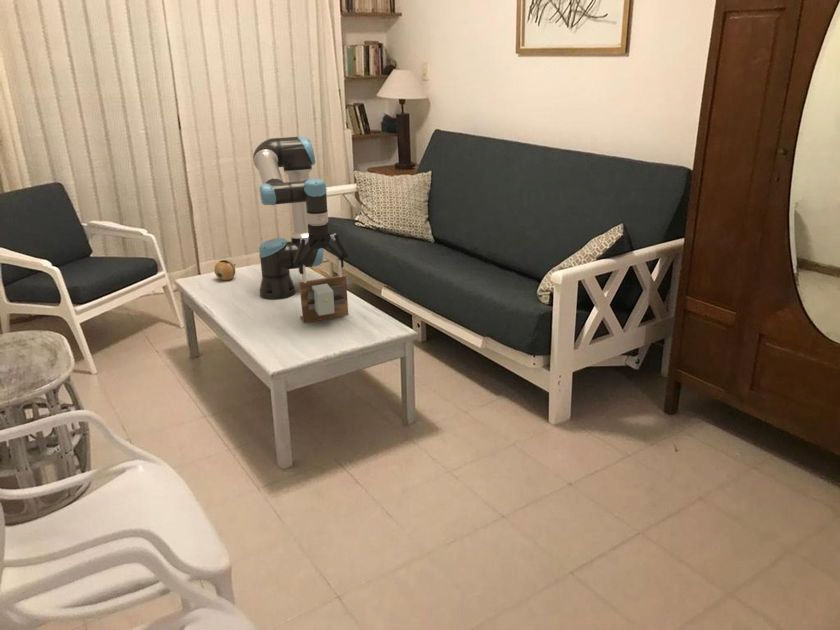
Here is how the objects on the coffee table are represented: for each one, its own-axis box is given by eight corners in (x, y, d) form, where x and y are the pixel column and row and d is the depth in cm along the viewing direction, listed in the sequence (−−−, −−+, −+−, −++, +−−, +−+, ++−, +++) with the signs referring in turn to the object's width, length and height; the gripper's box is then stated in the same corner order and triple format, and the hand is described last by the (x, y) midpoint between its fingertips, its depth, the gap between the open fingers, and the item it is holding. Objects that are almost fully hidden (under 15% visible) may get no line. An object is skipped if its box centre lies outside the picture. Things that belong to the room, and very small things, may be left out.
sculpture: (206, 267, 306) (224, 250, 318) (209, 283, 312) (227, 266, 323) (224, 271, 304) (242, 254, 315) (227, 288, 310) (244, 271, 321)
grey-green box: (313, 307, 263) (311, 286, 259) (328, 305, 265) (326, 283, 262) (319, 316, 256) (318, 294, 252) (335, 313, 258) (334, 291, 254)
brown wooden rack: (300, 318, 268) (296, 279, 262) (344, 310, 275) (341, 272, 269) (306, 325, 261) (302, 285, 255) (351, 317, 268) (348, 278, 262)
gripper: (286, 230, 239) (292, 287, 247) (354, 221, 248) (357, 276, 256) (281, 225, 245) (286, 281, 253) (347, 216, 255) (350, 270, 263)
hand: (322, 279), depth 255 cm, fingers open, 13 cm apart
